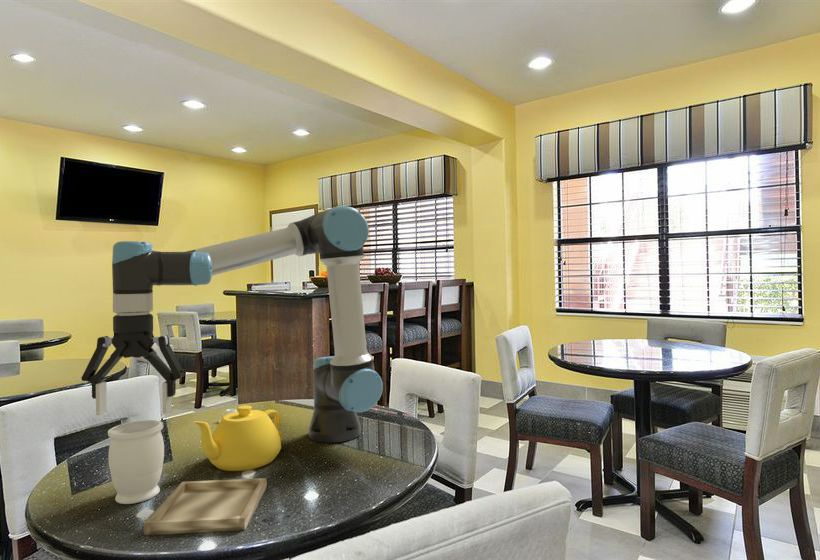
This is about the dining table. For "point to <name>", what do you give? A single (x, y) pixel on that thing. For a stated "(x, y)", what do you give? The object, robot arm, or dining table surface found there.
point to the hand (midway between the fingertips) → (134, 412)
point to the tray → (207, 507)
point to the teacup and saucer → (230, 411)
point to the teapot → (242, 439)
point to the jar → (136, 460)
